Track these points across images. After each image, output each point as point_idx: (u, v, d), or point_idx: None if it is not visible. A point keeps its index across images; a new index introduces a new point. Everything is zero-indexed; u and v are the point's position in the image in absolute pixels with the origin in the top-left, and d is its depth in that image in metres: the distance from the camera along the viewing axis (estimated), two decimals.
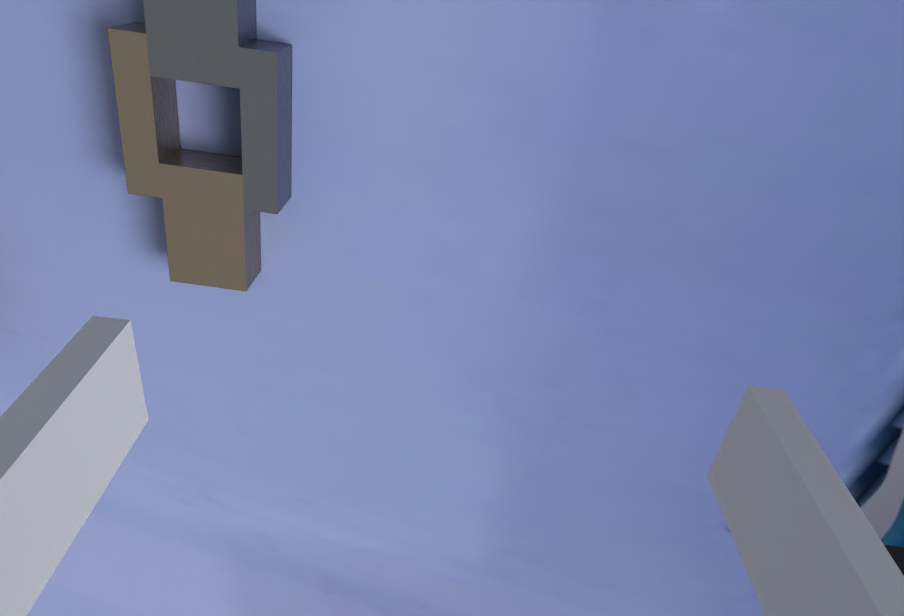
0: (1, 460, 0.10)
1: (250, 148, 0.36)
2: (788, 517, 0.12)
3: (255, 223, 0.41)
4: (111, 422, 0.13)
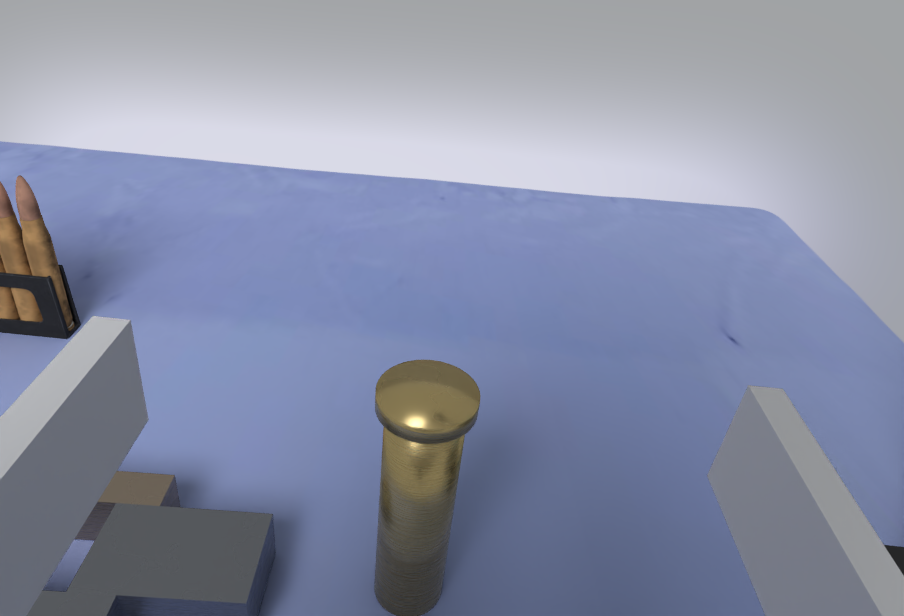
0: (1, 460, 0.10)
1: None
2: (788, 517, 0.12)
3: None
4: (111, 422, 0.13)
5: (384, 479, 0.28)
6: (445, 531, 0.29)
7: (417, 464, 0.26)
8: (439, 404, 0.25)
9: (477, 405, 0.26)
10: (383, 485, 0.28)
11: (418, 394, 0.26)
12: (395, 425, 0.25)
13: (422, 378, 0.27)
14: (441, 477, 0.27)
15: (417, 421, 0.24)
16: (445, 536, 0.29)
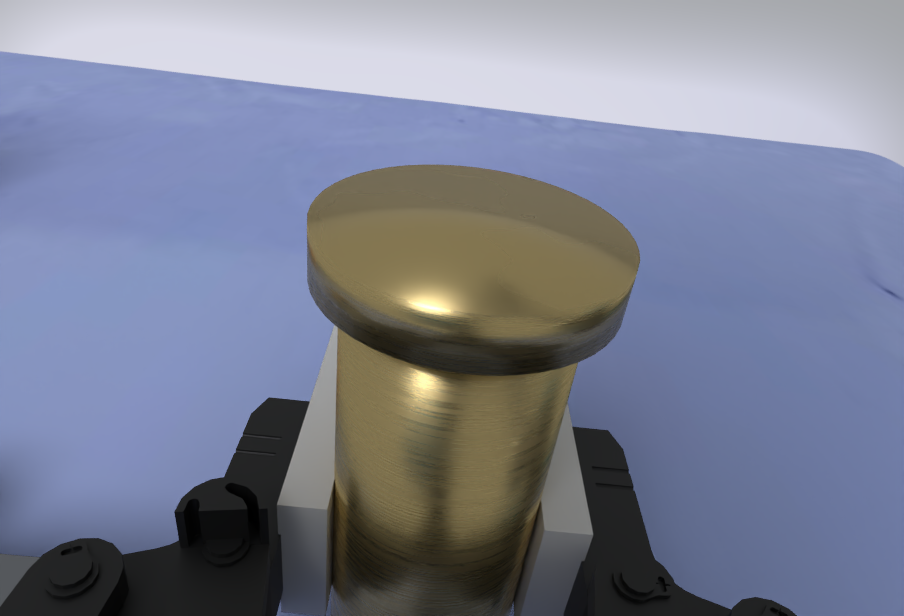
0: None
1: None
2: None
3: None
4: None
5: (340, 494, 0.10)
6: None
7: (438, 449, 0.08)
8: (514, 253, 0.08)
9: (635, 262, 0.08)
10: (338, 510, 0.10)
11: (444, 227, 0.08)
12: (364, 307, 0.07)
13: (455, 197, 0.09)
14: (506, 493, 0.09)
15: (443, 291, 0.07)
16: None
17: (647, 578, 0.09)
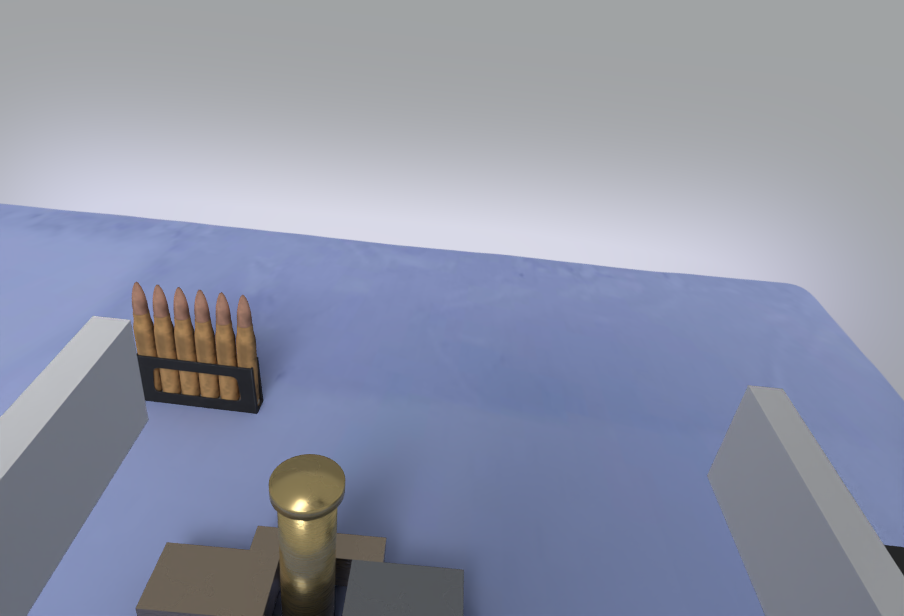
0: (1, 460, 0.10)
1: None
2: (788, 517, 0.12)
3: None
4: (111, 422, 0.13)
5: (279, 540, 0.38)
6: (327, 578, 0.39)
7: (298, 532, 0.36)
8: (313, 491, 0.36)
9: (340, 492, 0.36)
10: (279, 544, 0.38)
11: (299, 483, 0.36)
12: (279, 507, 0.35)
13: (305, 470, 0.37)
14: (317, 541, 0.37)
15: (294, 505, 0.35)
16: (328, 581, 0.40)
17: None
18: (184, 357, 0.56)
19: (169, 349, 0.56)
